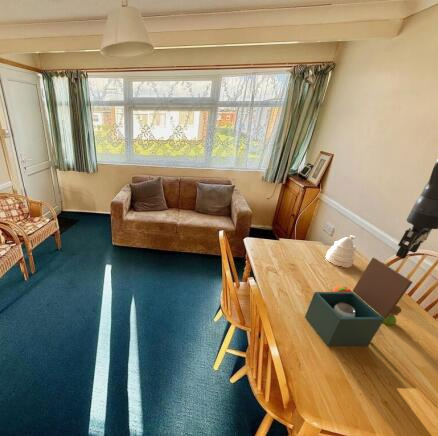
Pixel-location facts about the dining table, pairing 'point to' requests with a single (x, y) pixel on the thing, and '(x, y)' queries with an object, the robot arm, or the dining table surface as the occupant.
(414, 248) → the robot arm
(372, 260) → the lid
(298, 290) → the dining table surface
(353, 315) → the can
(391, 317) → the snail figurine
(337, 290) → the clementine
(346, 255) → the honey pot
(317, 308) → the box
